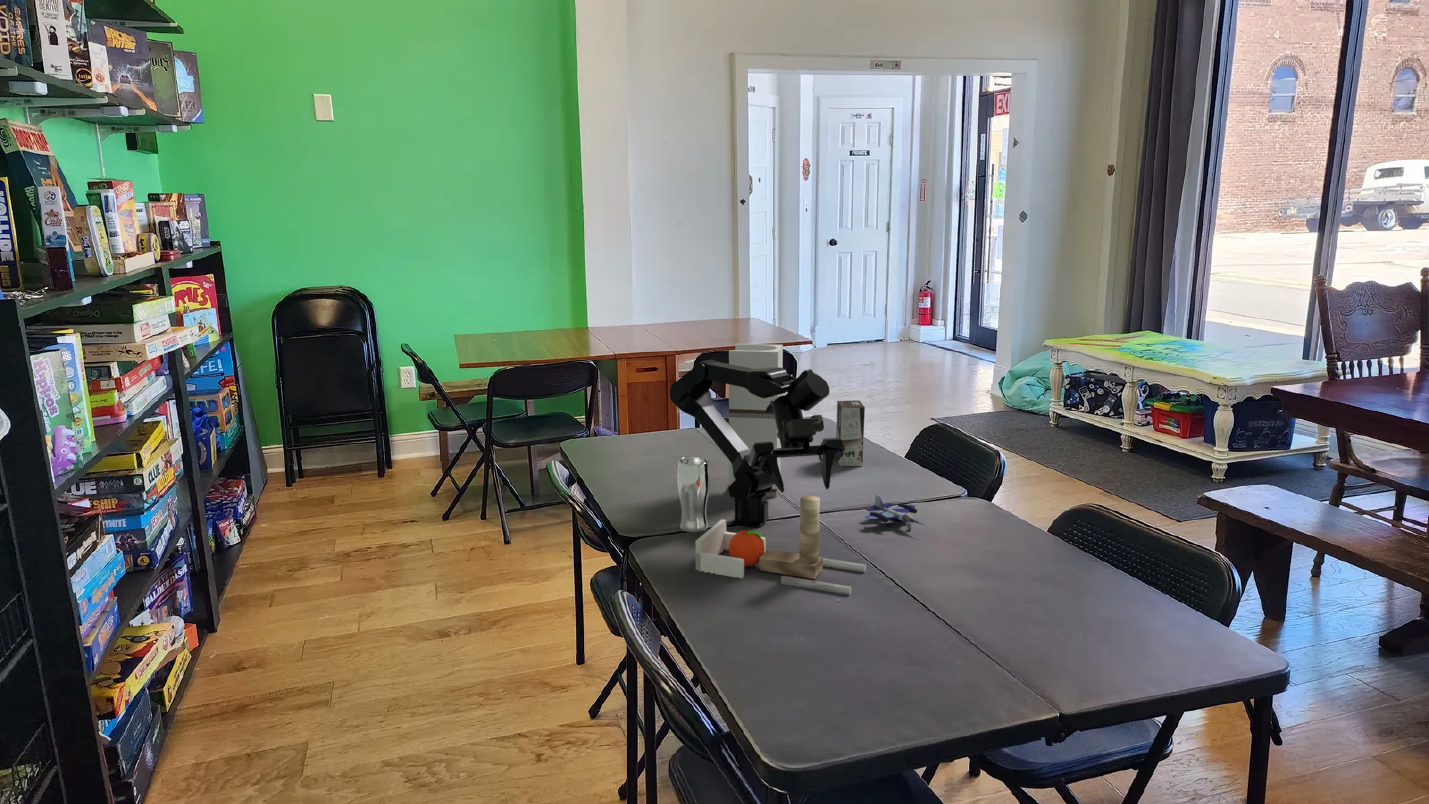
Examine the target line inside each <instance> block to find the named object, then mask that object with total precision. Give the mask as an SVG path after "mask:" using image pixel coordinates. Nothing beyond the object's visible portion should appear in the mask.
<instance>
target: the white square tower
mask: <svg viewBox="0 0 1429 804" xmlns="http://www.w3.org/2000/svg"><path fill="white" fill-rule="evenodd" d="M734 346H735V347H734V348H735V349H732V350H731V349H729V350H728V364H731V365H736V366H741V367H747V368H752V369H760V368H776V367H780V368H783V354H784V353H783V352H784V344H770V343H769V344H768V343H767V344H761V343H758V344H757V343H735V345H734ZM783 369H784V368H783ZM782 395H783V394H781V395H777V396H773V397H769V398H760V397H758V396H756V395H753V394H751V393H750V392H749V391H748V390H747V389H745V388H743V387H739V386H734V385H730V384H728V424H729V425H730V426H731V428H732V429H733V430H734V431H735V433H736V434H737V435H738V436H739V437H740V439H741V440H742V441H743V442H744V444H745V445H746V446H747V447H748V448H749V449H750V450H751V449H752V447H753V445H754V444H755V443H759V442H772V443H773V445H774V448H781V444H780V439H779V438H778V437H777V433H778V430H777V426H776V421H775V417H774V414H771V413H767V412H766V409H767V407H768V406H769V404H770V402H771V401H774V400H775V399H777V398H778V397H779V396H782ZM777 462H778V467H779V470H780V474H782V472H781V471H782V469H781V465H782V458H777ZM735 480H736V479H735V477H734V475H733V468H732V463H731V462H730V461H729V460H728V487H729V486H730V485H731V484H732V483H733V482H734V481H735ZM779 491H780V490H779V489H778V488H777V486H776V485H775V484H774V485H773V487H772V490H771V492H770V493H766V498H777V496H778V495H779Z"/></svg>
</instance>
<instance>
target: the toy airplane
mask: <svg viewBox="0 0 1429 804" xmlns="http://www.w3.org/2000/svg"><path fill="white" fill-rule="evenodd" d="M897 506H898V507H894V508H891V507H893V504H892V503H889V502H888V503H887V502H886V503H884V502H883V501H882V498H881V497H880V496H878V495H874V505H873V506H870V507H867V508H865V509H864V510H865V511H867V512H869V515H865V516H864V518H865V519H867V520H870V521H871V520H876V522H877V523H881V522H884V523H888V522H889V521H891V522H893V523H895V524H898V523H899V524H905V523H906V529H907V531H909V532H911V531H912V525H911V523H915V524H919V525H923V526H926V527H927V525H925V524H923V523H921V522H919V521H917V520H916V519H914V517H913V516H912V514H917V513H918V509H917V508H916V506H915V505H914V504H909V503H908V504H907V503H901V502H900V503H898V504H897ZM876 511H881V512H876ZM908 524H909V525H908Z"/></svg>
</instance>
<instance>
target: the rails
mask: <svg viewBox="0 0 1429 804" xmlns="http://www.w3.org/2000/svg"><path fill="white" fill-rule="evenodd" d="M823 567H827V568H834V569H838V570H839V569H840V570H846V571H847V570H848V571H854V572H859V573H861V572H862V573H866V571H867V564H864V563H860V562H859V563H857V562H851V561H845V560H838V559H831V558H825V557H823ZM780 584H781V585H786V586H792V585H793V586H794V587H798V588H804V589H805V588H806V589H811V590H816V591H817V590H818V591H824V592H828V593H829V592H830V593H835V594H842V595H845V596H850V595H851V593H852V586H849V585H842V584H837V583H833V582H832V583H830V582H825V581H818V580H814V579H808V578H802V577H796V576H790V575H782V576H781V577H780Z"/></svg>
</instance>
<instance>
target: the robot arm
mask: <svg viewBox="0 0 1429 804" xmlns="http://www.w3.org/2000/svg"><path fill="white" fill-rule="evenodd" d="M714 382H716V383H721V384H726V385H729V384H730V385H734V386H739V387H743V388H745V389H747V390H748V391H749V392H750V393H751V394H753V395H756V396H758V397H760V398H769V397H773V396H777V395H781V394H782V396H779V397H778V398H777V399H775V400H774V401H771V402H770V404H769V406H768V407H767V409H766V412H767V413H771V414H774V417H775V421H776V426H777V430H778V433H777V437H778V438H779V439H780V444H781V448H774V445H773V443H772V442H759V443H755V444H754V445H753V447H752V449H751V450H750V449H749V448H748V447H747V446H746V445H745V444H744V442H743V441H742V440H741V439H740V437H739V436H738V435H737V434H736V433H735V431H734V430H733V429H732V428H731V426H730V425H729V422H728V421H726V419H725V418H724V417H723V415H722V414H721V413H720V412H719V411H718V409H717V408H716V407H715V406H714V404H713V401H712V393H711V390H710V389H712V388H713V386H714V384H715V383H714ZM829 395H830V386H829V383H828V382H827V381H826V379H824V378H823V377H822V376H820V375H819V374H817V373H815V372H814V371H813V369H812V368H809V369H805V370H803V371H802V372H800V374H799V375H798V376H797V377H795V376H793V375H791V374H790V373H788V372H787V370H786V369H785V368H780V367H776V368H760V369H752V368H747V367H741V366H736V365H731V364H729V363H727V362H721V361H717V360H714V359H709V360H708V359H707V360H703V361H699V362H698V363H697V364H695V365H694V367H692V369H690V370H689V371H688V372H686V373H685V374H684V375H682V376H681V377H679V379H677V380H675V381H674V382H672V384H671V386H670V389H669V399H670V401H671V402H672V404H673V405H675V406H676V407H677V409H679V410H680V411H681V412H683V413H685V414H686V415H689V416H691V417H693V418H694V419H695V420H696V421H697V422H698V423H699V425H700V426H701V427H702V428H703V430H704V431H705V432H706V433H707V434H708V436H709V437H710V438H711V439H712V441H713V442H714V443H715V445H716V446H717V447H718V448H719V450H721V453H723V454H724V456H725V457H726V459H728V462H729V461H730V462H731V463H732V468H733V475H734V477H735V479H736V480H735V481H734V482H733V483H732V484H731V485H730V486H729V485H728V487H727V490H728V495H729V494H730V495H729V497H730V498H733V499H734V518H733V520H732V521H731V524H733V525H740V526H748V527H753V528H760V527H762V525H763V524H765V523H766V522H767V521H768V520H769V517H770V516H769V501H768V500H767V497H766V493H770V492H771V490H772V487H773V485H774V484H775V485H776V486H777V488H778V489H779V491H780V493H785V486H784V482H783V481H784V480H783V478H782V475H781V474H782V473H781V474H780V470H779V467H778V462H777V458H781V459H782V458H795V457H796V458H797V457H809V456H812V457H813V456H818V459H819V460H820V463H819V469H820V472H821V477H822V481H823V485H824V487H825V490H829V489H830V487H831V486H830V484H831V474H832V467H833V466H834V465H835V463H838V461H839V460H840V458H841V456H842V454H843V452H844V450H845V444H844V441H843V440H842V439H841V438H836V437H829V438H828V437H827V438H826V437H825V438H823V439H822V442H821V443H820V445H811V444H810V443H812V442H814V437H813V436H815V435H816V436H817V433H818V432H819V433H820V432H822V431H824V430H825V425H824V424H825V423H824V419H823V417H822V414H813V415H812V416H810V418H809V417H807V418H804V415H803V412H804V411H805V412H808V411H810V410H811V409H813V408H814V407H815V406H817V405H818V404H819V403H821V402H822V401H823V400H824V399H826V398H827V397H829ZM802 411H803V412H802Z"/></svg>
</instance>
